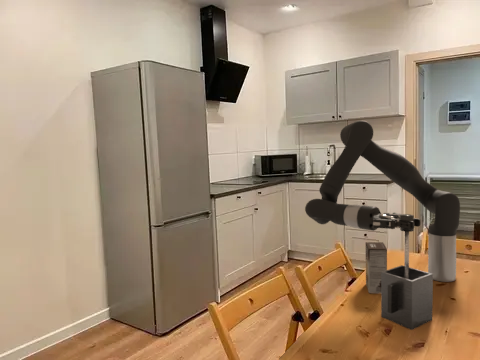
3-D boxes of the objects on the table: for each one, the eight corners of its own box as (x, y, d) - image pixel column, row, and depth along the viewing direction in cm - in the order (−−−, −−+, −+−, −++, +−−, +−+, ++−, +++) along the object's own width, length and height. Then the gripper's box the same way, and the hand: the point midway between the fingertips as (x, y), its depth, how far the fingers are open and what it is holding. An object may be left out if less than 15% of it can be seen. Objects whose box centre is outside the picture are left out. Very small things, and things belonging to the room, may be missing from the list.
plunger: (402, 279, 116) (402, 211, 114) (427, 287, 109) (428, 215, 108) (385, 285, 112) (385, 215, 110) (411, 293, 105) (411, 219, 103)
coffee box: (365, 283, 140) (364, 241, 139) (383, 284, 139) (383, 241, 137) (368, 293, 131) (368, 248, 130) (387, 294, 130) (387, 248, 128)
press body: (401, 308, 119) (401, 265, 117) (432, 320, 110) (432, 273, 109) (374, 319, 112) (374, 274, 110) (405, 333, 103) (405, 284, 102)
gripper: (349, 208, 114) (406, 214, 102) (372, 202, 124) (427, 207, 111) (350, 232, 115) (406, 241, 102) (373, 224, 125) (427, 232, 112)
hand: (416, 224), depth 107 cm, fingers closed on plunger, 3 cm apart
